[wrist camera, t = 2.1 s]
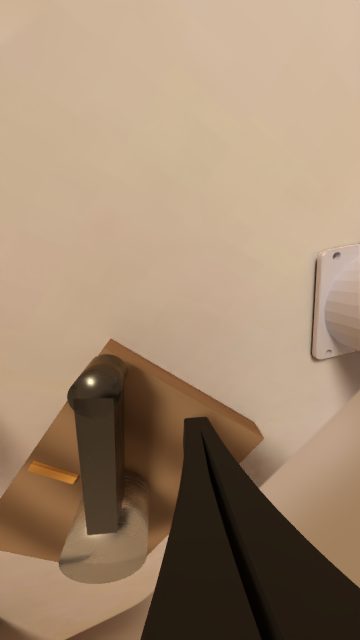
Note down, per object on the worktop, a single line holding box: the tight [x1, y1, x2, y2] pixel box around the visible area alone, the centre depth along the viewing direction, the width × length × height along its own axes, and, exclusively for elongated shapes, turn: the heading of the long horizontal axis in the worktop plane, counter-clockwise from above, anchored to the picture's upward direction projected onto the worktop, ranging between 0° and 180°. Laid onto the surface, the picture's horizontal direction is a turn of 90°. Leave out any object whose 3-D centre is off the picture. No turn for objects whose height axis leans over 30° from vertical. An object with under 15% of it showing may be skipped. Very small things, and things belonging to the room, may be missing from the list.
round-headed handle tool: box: [59, 354, 150, 584], centre depth 10 cm, size 15×5×3 cm, turn 175°
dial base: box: [0, 339, 264, 562], centre depth 14 cm, size 20×14×2 cm
